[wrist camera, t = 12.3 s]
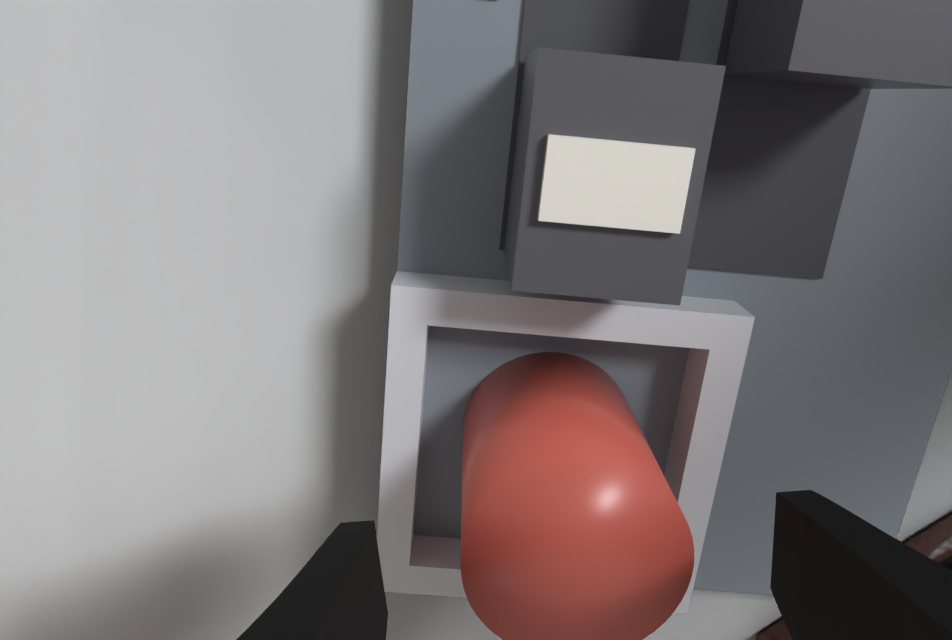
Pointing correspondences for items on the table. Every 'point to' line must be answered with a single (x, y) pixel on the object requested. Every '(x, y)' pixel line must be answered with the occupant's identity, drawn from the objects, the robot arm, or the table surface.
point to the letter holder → (939, 542)
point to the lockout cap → (566, 508)
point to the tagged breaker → (608, 174)
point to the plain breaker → (844, 42)
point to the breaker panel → (704, 294)
